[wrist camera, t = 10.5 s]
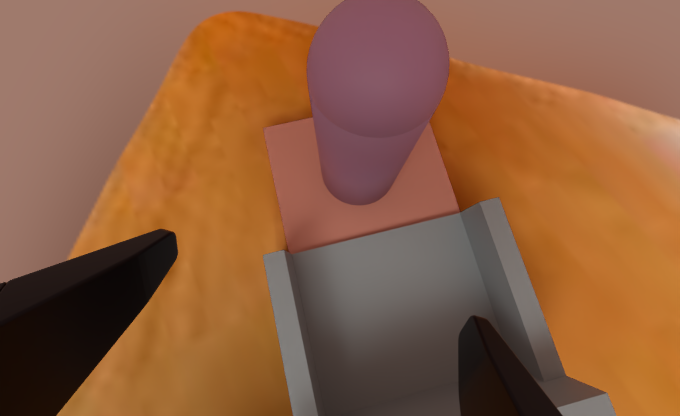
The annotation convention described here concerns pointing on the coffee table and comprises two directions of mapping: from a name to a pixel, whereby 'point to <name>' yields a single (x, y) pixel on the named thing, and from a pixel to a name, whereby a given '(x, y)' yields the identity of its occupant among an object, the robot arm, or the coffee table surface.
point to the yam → (373, 91)
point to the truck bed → (397, 290)
